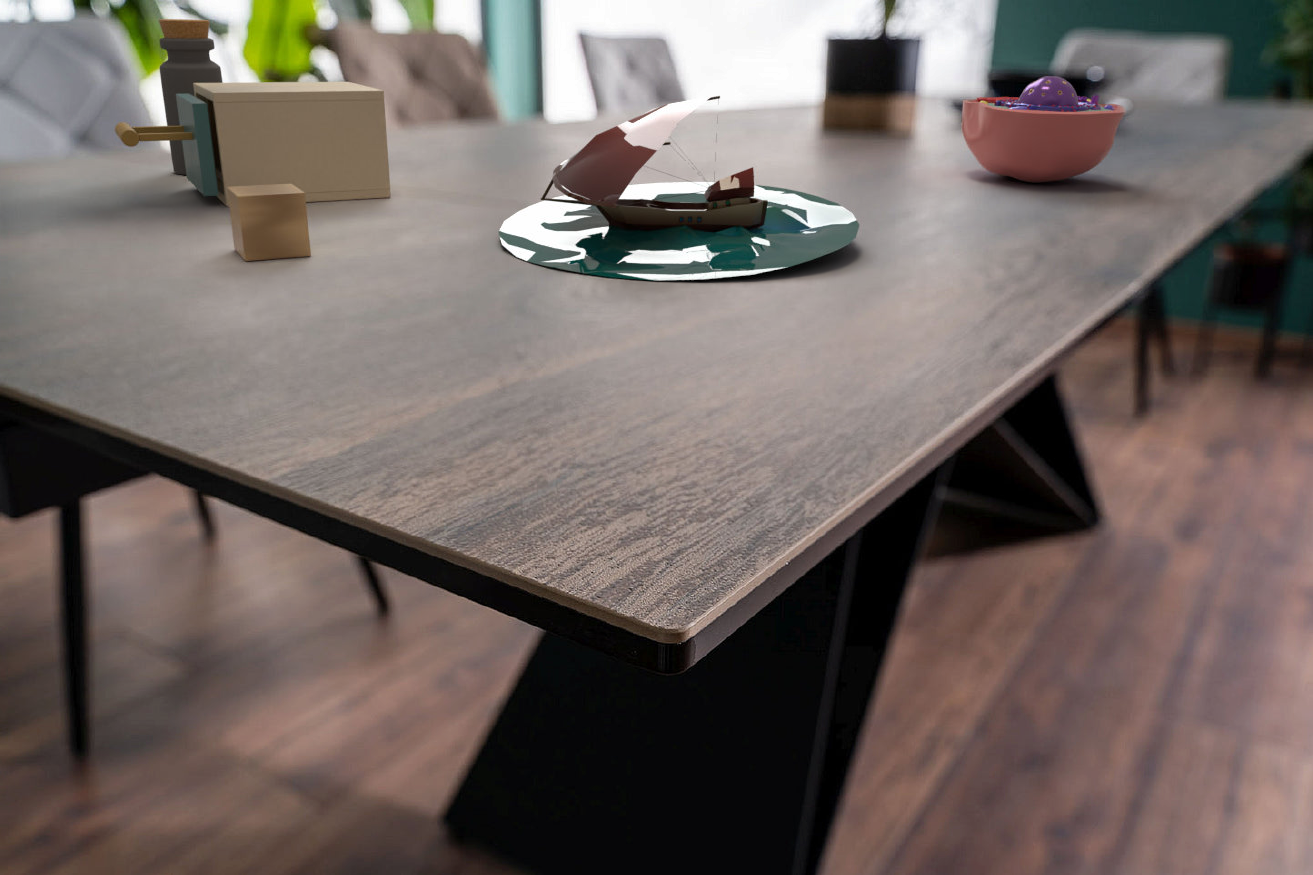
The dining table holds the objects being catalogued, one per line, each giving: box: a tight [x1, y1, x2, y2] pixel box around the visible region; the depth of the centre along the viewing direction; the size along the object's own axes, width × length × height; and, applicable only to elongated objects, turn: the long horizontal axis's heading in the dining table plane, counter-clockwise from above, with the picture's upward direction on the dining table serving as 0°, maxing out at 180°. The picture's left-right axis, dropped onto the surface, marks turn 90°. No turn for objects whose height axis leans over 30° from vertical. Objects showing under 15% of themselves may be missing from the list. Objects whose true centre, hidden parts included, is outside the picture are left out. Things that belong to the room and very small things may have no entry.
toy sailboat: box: [498, 95, 860, 281], centre depth 83 cm, size 28×28×11 cm
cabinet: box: [193, 81, 392, 208], centre depth 101 cm, size 15×13×10 cm
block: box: [227, 184, 312, 262], centre depth 77 cm, size 4×4×4 cm
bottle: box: [158, 18, 224, 176], centre depth 111 cm, size 6×6×15 cm
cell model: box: [960, 75, 1127, 184], centre depth 121 cm, size 17×20×11 cm
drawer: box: [114, 94, 223, 197], centre depth 99 cm, size 19×11×8 cm, turn 119°
